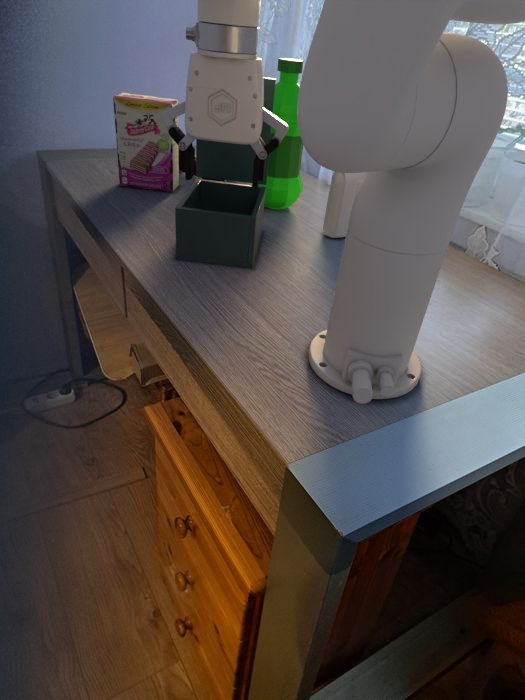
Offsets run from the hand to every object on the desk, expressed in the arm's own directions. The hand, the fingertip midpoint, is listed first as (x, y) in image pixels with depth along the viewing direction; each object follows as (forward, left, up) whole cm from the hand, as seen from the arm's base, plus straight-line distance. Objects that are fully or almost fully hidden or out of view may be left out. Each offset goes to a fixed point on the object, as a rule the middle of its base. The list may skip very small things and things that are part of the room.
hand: (222, 181), depth 70 cm
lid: (+9, 0, +5) cm, 10 cm away
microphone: (+36, +11, -11) cm, 39 cm away
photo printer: (+15, -21, -11) cm, 28 cm away
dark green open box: (+3, 0, -11) cm, 11 cm away
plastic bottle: (+25, -7, -11) cm, 28 cm away
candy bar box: (+27, +19, -11) cm, 35 cm away
